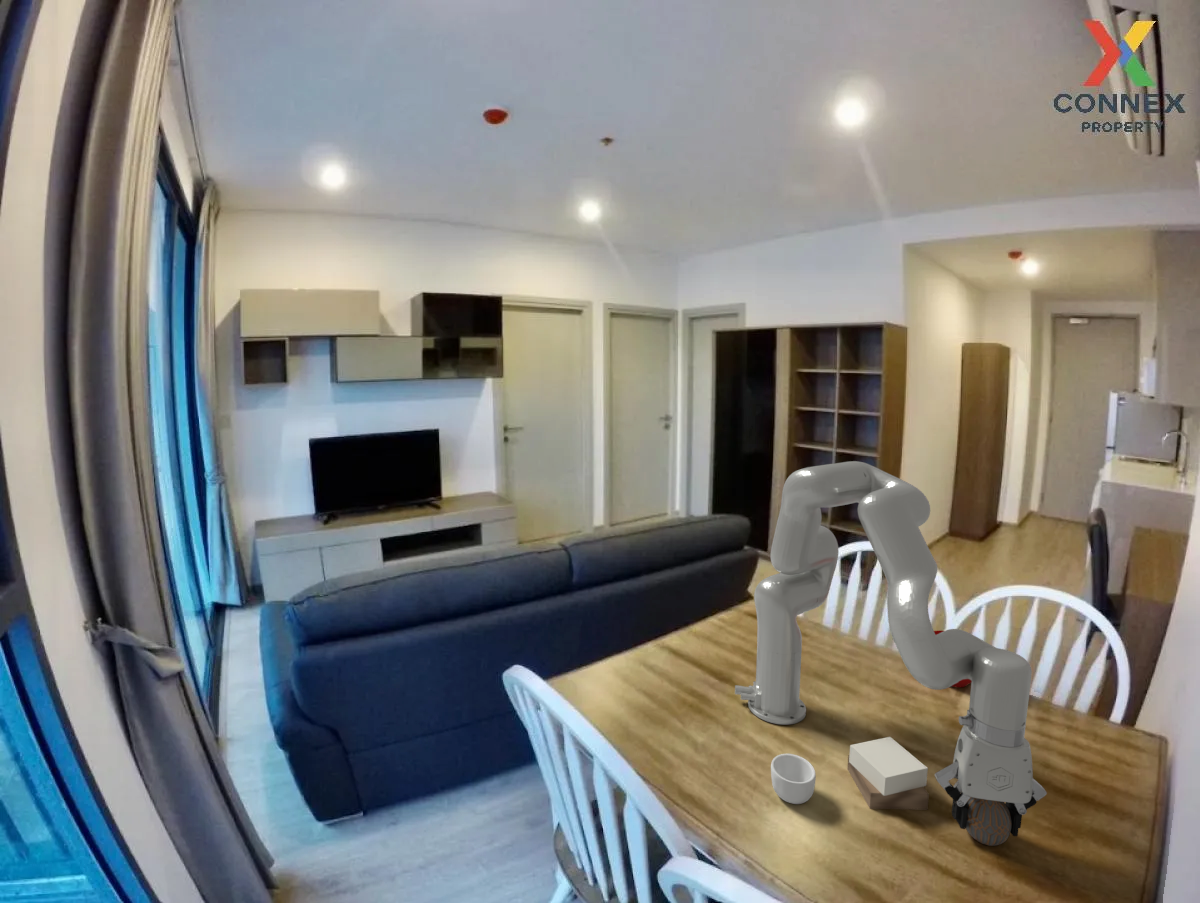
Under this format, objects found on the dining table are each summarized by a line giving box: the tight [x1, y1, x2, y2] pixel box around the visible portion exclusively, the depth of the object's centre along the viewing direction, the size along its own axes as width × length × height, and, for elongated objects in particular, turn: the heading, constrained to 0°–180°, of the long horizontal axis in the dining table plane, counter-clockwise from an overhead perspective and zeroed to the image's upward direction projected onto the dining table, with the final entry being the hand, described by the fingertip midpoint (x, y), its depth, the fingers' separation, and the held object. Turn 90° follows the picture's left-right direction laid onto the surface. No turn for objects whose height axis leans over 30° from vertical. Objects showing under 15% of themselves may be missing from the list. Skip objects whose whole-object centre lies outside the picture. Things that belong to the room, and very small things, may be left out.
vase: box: [965, 797, 1012, 847], centre depth 94 cm, size 7×7×9 cm
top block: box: [848, 736, 929, 796], centre depth 105 cm, size 9×9×4 cm
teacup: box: [770, 753, 817, 805], centre depth 105 cm, size 10×8×5 cm
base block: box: [846, 754, 930, 811], centre depth 106 cm, size 10×10×4 cm
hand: (984, 825), depth 95 cm, fingers closed on vase, 6 cm apart
